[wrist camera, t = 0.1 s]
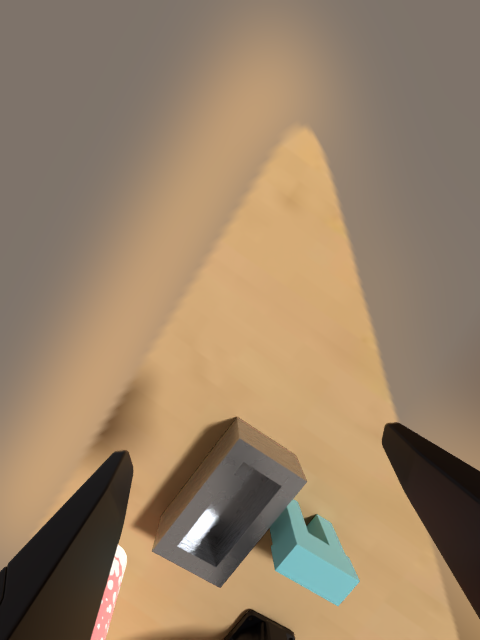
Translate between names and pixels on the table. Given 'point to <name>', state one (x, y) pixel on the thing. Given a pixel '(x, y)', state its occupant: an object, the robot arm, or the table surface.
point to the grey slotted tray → (228, 503)
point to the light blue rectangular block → (311, 555)
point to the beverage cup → (110, 595)
